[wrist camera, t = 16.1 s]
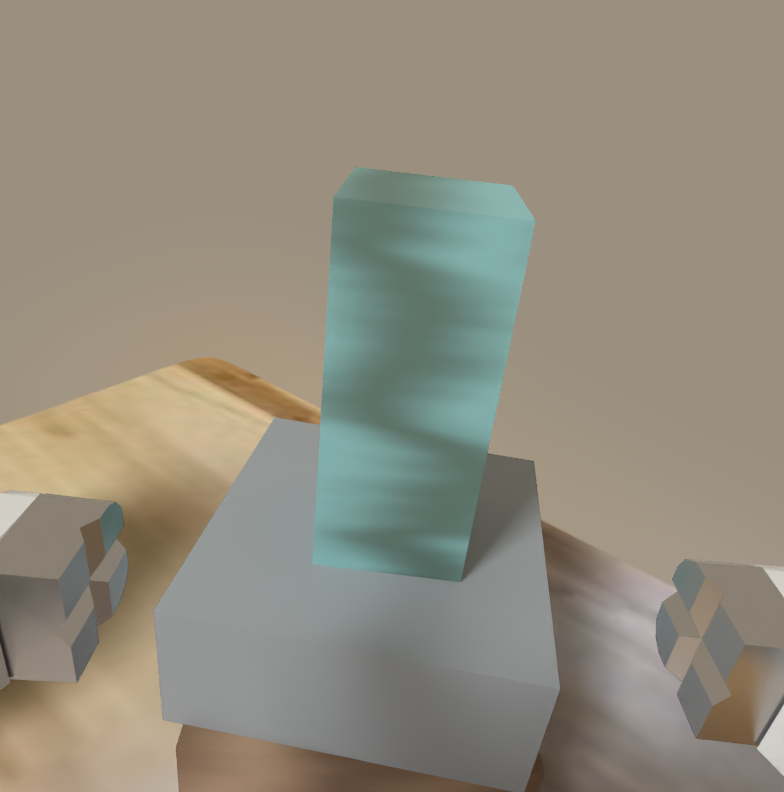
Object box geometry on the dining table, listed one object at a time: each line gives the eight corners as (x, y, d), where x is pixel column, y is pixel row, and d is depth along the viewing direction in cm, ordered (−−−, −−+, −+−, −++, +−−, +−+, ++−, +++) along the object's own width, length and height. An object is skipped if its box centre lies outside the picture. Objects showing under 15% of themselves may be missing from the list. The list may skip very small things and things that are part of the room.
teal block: (455, 492, 26) (513, 185, 20) (460, 581, 21) (535, 220, 16) (333, 477, 26) (355, 167, 20) (312, 564, 21) (333, 197, 16)
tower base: (476, 607, 34) (493, 534, 32) (513, 856, 23) (544, 774, 21) (250, 587, 33) (250, 512, 31) (182, 835, 23) (175, 747, 20)
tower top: (511, 546, 31) (533, 461, 29) (523, 793, 20) (560, 689, 18) (272, 504, 32) (274, 417, 29) (162, 719, 21) (153, 611, 19)
